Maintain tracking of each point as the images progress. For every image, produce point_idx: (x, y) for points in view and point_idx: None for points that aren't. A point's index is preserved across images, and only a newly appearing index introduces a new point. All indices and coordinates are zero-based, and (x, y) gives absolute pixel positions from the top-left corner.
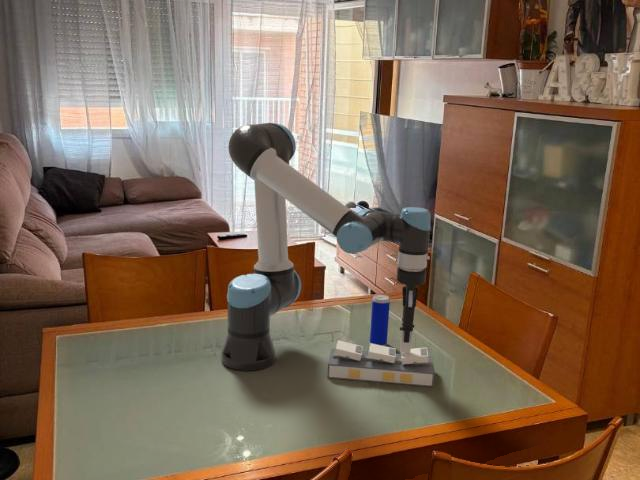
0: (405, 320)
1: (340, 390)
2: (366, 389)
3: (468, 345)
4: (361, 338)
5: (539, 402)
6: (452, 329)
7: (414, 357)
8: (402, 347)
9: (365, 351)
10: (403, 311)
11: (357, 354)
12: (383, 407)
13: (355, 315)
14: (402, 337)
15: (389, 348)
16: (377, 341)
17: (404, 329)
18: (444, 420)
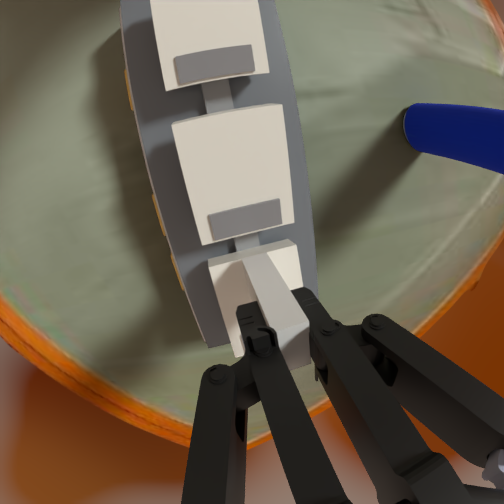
0: (194, 455)
1: (64, 88)
2: (97, 154)
3: (422, 319)
4: (429, 82)
5: None
6: (471, 275)
7: (222, 315)
8: (248, 278)
9: (291, 88)
10: (387, 393)
11: (162, 72)
12: (37, 234)
13: (496, 82)
14: (260, 306)
15: (274, 201)
16: (412, 125)
17: (204, 386)
18: (76, 356)
